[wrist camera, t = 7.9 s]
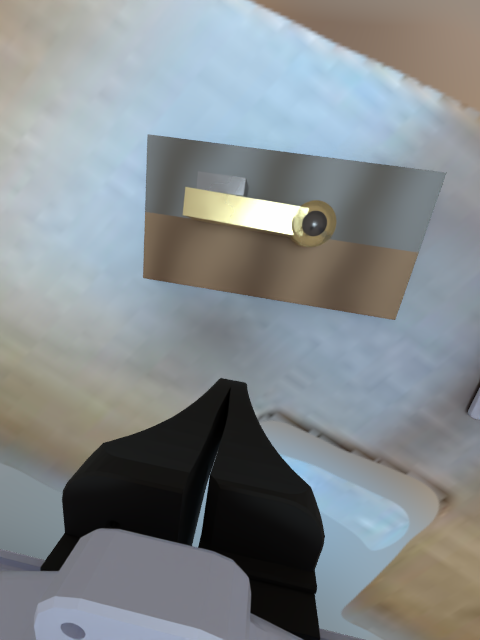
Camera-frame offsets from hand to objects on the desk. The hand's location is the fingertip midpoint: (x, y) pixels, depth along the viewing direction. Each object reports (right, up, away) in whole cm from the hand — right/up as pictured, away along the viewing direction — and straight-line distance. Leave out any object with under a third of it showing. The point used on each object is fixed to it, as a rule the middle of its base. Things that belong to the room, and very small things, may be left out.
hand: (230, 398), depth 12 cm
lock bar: (+2, +11, +5) cm, 12 cm away
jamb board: (+3, +11, +7) cm, 13 cm away
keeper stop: (0, +13, +5) cm, 14 cm away
